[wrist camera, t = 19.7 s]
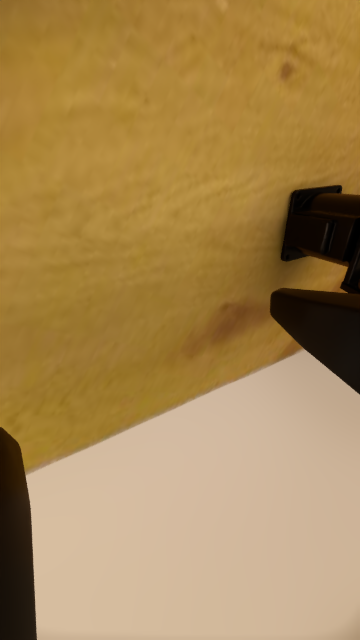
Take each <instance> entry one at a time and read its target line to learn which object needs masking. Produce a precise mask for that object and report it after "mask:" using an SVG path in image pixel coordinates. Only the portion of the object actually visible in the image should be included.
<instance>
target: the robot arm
mask: <svg viewBox="0 0 360 640" xmlns="http://www.w3.org/2000/svg"><path fill="white" fill-rule="evenodd" d="M341 191H342V186H341V185H333V186H324V187H316V188H307V189H299V190H295V191H294V192H293V193H292V195H291V200H290V206H289V212H288V218H287V224H286V230H285V236H284V241H283V247H282V253H281V260H282V261H285V262H287V261H291V260H295V259H299V258H302V257H306V256H312V257H315V258H319V259H322V260H326V261H329V262H332V263H336V264H339V265H343V266H346V267H348V269H347V272H346V275H345V278H344V281H343V282H342V283H341V286H340V288H341V289H343V290H344V291H346V292H348V293H338V292H326V291H314V290H301V289H289V288H280V289H278V290H276V291H274V292H272V294H271V298H270V313H271V316H272V317H273V318H274V319H275V320H276V321H277V322H278V323H279V324H280V325H281V326H282V327H283V328H284V329H285V330H286V331H287V332H288V333H289V334H290V335H291V336H292V337H293V338H294V339H295V340H296V341H297V342H298V343H299V344H300V345H301V346H302V347H303V348H304V349H305V350H306V351H308V352H309V353H310V354H311V355H313V356H314V357H315V358H316V359H317V360H319V361H320V362H321V363H322V364H324V365H325V366H326V367H327V368H328V369H330V370H331V371H332V372H333V373H334V374H336V375H337V376H338V377H339V378H340V379H342V380H343V381H344V382H345V383H346V384H348V385H349V386H350V387H351V388H352V389H354V390H355V391H356V392H357V393H359V394H360V195H352V194H341ZM32 548H33V547H32V525H31V508H30V500H29V494H28V488H27V482H26V476H25V470H24V465H23V459H22V453H21V448H20V446H19V444H18V442H17V441H16V440H15V439H14V438H13V437H12V436H11V435H9V434H8V433H7V432H6V431H5V430H4V429H3V428H2V427H0V640H37V634H36V613H35V591H34V570H33V549H32Z"/></svg>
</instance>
